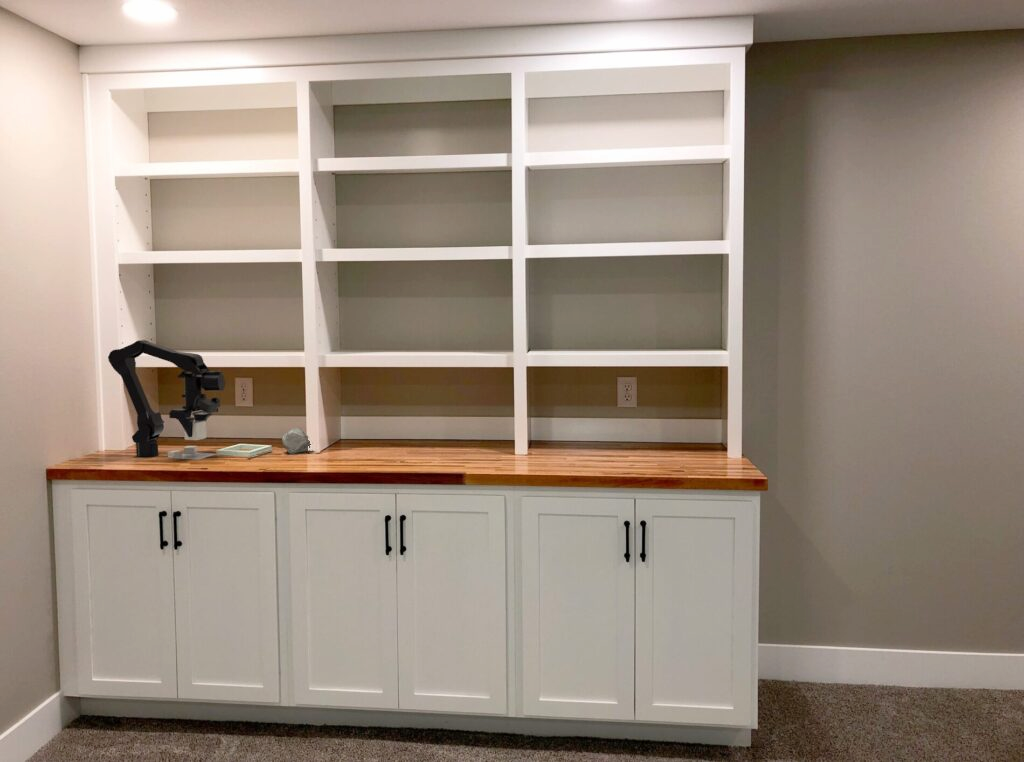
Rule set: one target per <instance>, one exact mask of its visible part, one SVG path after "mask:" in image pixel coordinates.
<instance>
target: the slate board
mask: <svg viewBox="0 0 1024 762" xmlns="http://www.w3.org/2000/svg"><path fill="white" fill-rule="evenodd" d="M215 455H216V453H210V452H208V453H207V452H198V446H197V445H186V446H184V447H183V451H182V450H179V449H176V450H169V451H167V458H168V459H178V460H179V459H182V460H196V461H198V460H202V459H205V458H208V457H212V456H215Z"/></svg>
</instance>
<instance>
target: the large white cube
mask: <svg viewBox="0 0 1024 762" xmlns="http://www.w3.org/2000/svg"><path fill="white" fill-rule="evenodd" d="M183 430H184V429H183ZM183 433H184V440H185V441H186V440H187V441H199V440H205V439H207V420H206V421H198V420H195V419H194V421H193V425H192V437H188V435H187V433H186V431H185V430H184V431H183Z"/></svg>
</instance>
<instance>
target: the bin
mask: <svg viewBox="0 0 1024 762" xmlns="http://www.w3.org/2000/svg"><path fill="white" fill-rule="evenodd" d="M272 453H273V445H270V444H269V445H267V444H250V443H238V444H235V445H230V446H227V447H223V448H219V449H216V450H215V454H216V455H217V456H230V457H231V456H232V457H233V456H235V457H247V460H252V459H256V458H259V457H262V456H265V455H268V454H272Z"/></svg>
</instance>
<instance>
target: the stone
mask: <svg viewBox="0 0 1024 762" xmlns="http://www.w3.org/2000/svg"><path fill="white" fill-rule="evenodd" d="M308 438H309V436H308V435H307V434H305V432H304V430H303V428H302V427H297V428H291V429H290V430H288V431H287V432H285V433H284V434H283V436H282V437H281V442H282V444H283V447H284V449H285V450H286V451H287V453H289V454H290V455H294V454H298V453H302V452H303V453H305V452H309V451H308V446H309V448H310V445H311V444H310V441H309V440H308Z"/></svg>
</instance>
